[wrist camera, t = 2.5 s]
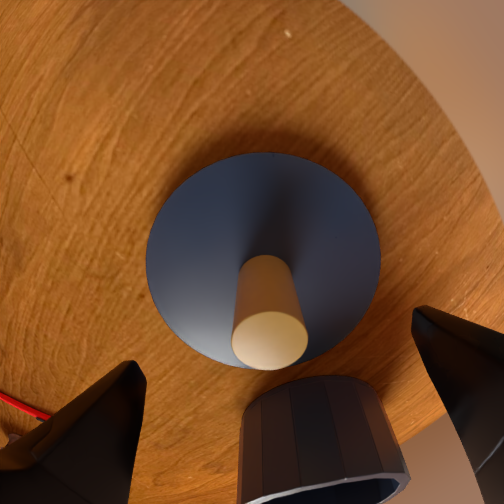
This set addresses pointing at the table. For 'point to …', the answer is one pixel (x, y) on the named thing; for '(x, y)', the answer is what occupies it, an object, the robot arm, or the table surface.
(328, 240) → the canister lid
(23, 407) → the pen
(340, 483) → the canister
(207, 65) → the table surface
